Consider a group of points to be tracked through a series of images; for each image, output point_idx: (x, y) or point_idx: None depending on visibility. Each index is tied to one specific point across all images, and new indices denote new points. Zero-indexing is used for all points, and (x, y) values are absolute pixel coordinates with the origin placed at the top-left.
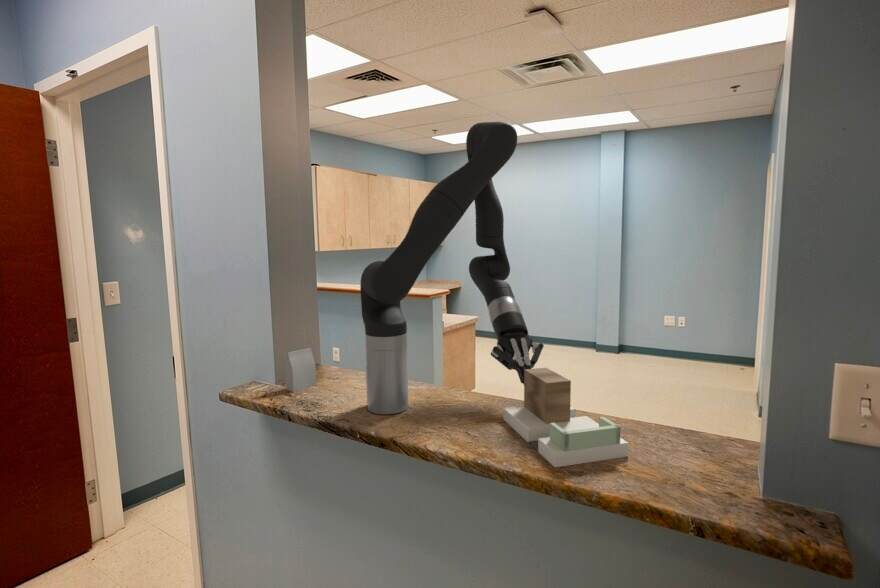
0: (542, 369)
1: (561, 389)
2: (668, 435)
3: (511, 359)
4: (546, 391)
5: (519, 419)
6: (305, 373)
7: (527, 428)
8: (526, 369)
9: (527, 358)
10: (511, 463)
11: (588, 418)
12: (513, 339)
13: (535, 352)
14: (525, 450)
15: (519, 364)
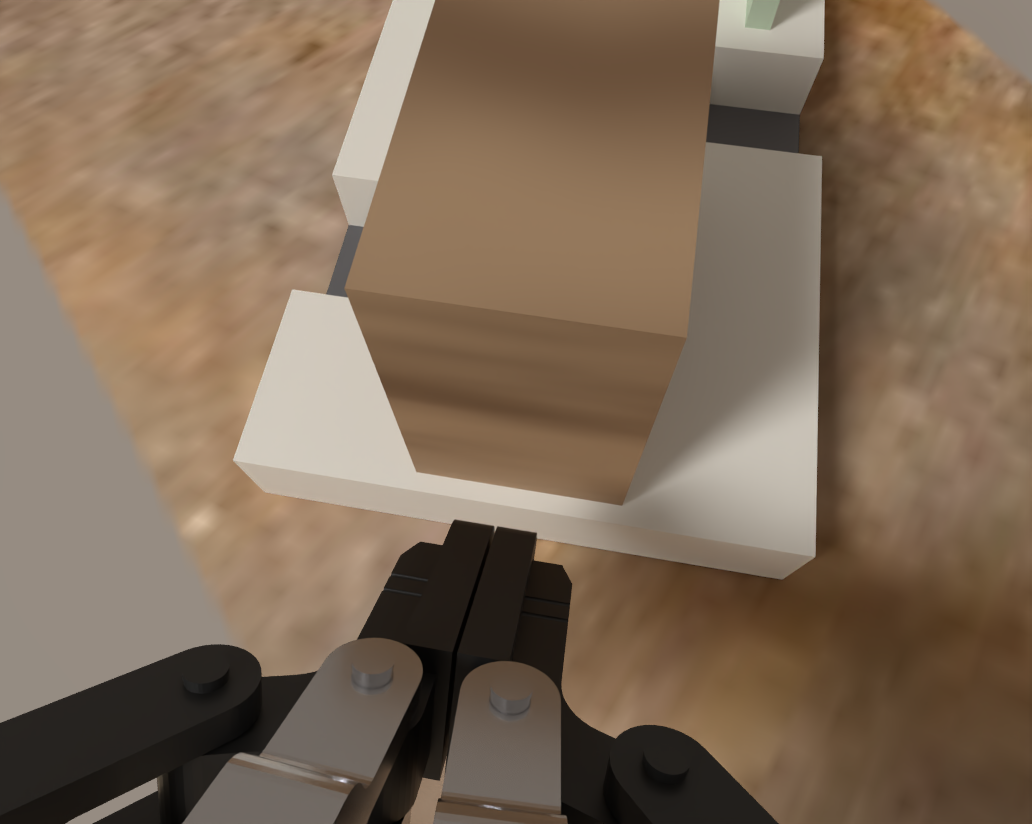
0: (450, 242)
1: None
2: (66, 22)
3: (681, 818)
4: None
5: (798, 301)
6: None
7: (818, 170)
8: (656, 326)
9: (318, 738)
10: (979, 86)
11: (356, 141)
12: None
13: (3, 806)
14: (852, 154)
15: (550, 692)
